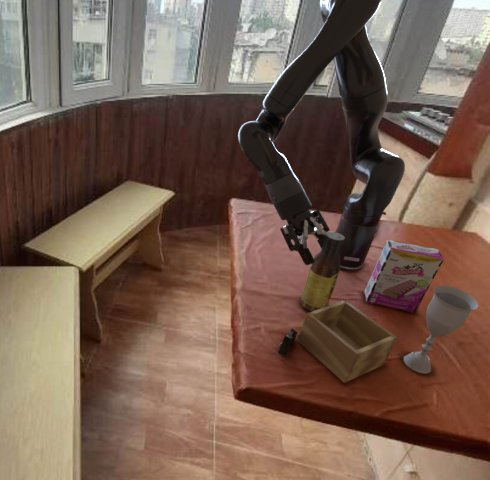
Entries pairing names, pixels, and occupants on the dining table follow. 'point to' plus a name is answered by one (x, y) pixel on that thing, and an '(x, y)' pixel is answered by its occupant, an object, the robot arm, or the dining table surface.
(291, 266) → the dining table surface
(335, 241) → the sauce bottle
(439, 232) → the dining table surface
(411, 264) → the candy bar box
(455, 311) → the chalice
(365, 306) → the dining table surface
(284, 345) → the lighter
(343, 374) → the caddy
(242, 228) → the dining table surface
